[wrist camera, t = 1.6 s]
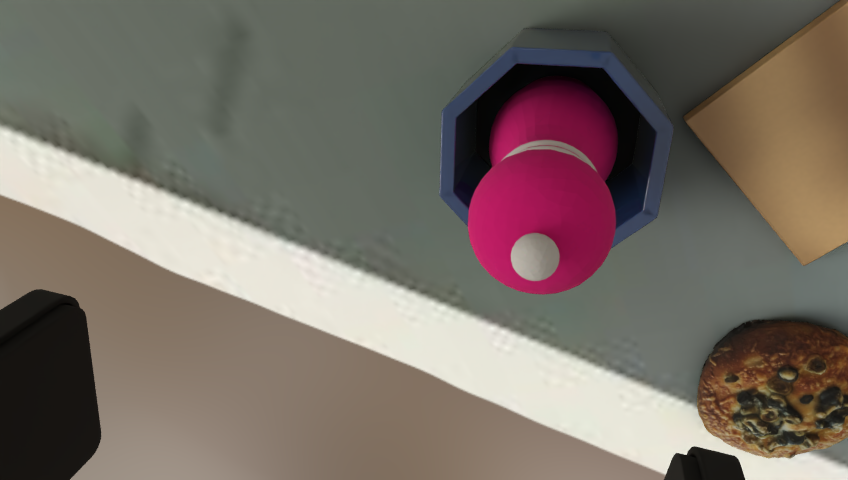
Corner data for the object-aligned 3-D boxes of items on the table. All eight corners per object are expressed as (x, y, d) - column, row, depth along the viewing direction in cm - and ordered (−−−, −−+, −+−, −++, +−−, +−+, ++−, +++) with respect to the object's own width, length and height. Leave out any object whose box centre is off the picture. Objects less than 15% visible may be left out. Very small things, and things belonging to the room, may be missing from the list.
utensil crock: (569, -15, 37) (566, -4, 30) (692, 134, 39) (716, 177, 32) (428, 116, 42) (397, 151, 35) (543, 242, 44) (535, 300, 37)
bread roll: (770, 284, 41) (799, 333, 37) (900, 358, 43) (943, 414, 39) (657, 388, 47) (671, 442, 43) (776, 451, 49) (801, 508, 44)
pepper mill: (626, 75, 38) (664, 190, 21) (601, 187, 41) (614, 370, 24) (507, 59, 39) (444, 154, 22) (490, 169, 43) (425, 331, 25)
